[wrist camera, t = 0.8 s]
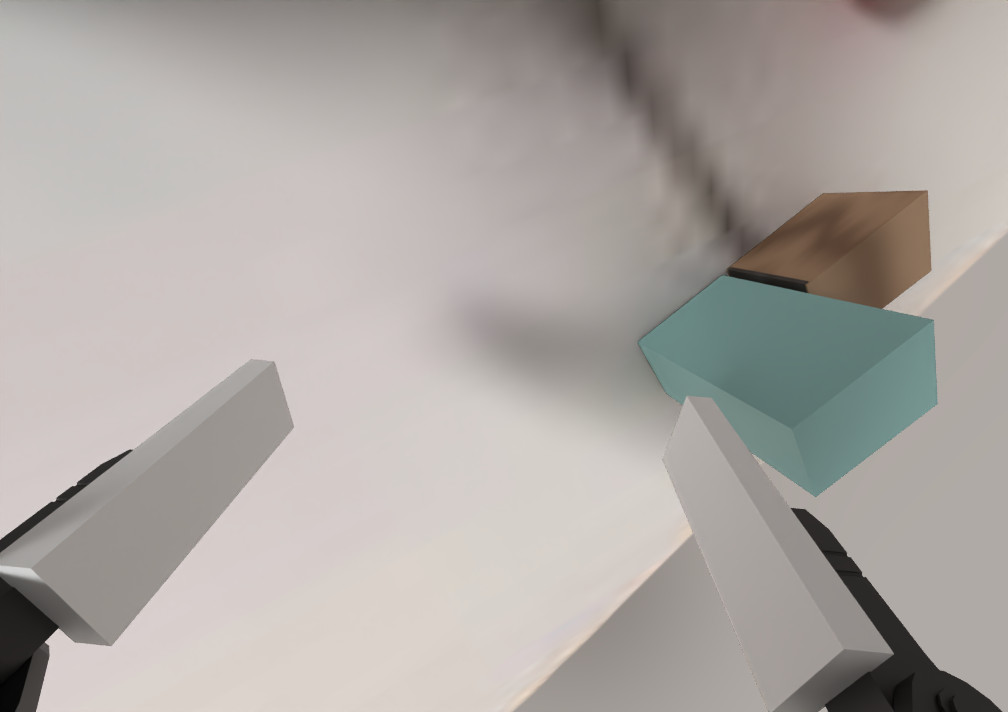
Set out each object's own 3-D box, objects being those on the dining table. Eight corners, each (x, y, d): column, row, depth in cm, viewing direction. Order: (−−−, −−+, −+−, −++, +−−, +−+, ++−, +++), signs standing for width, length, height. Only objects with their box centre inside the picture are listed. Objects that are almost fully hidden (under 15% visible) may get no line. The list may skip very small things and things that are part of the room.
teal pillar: (722, 275, 27) (933, 319, 17) (743, 333, 30) (937, 403, 19) (637, 342, 27) (792, 429, 17) (666, 393, 30) (815, 497, 19)
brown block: (822, 192, 27) (927, 189, 22) (835, 259, 30) (931, 271, 25) (726, 269, 27) (806, 284, 22) (747, 328, 30) (823, 354, 25)
